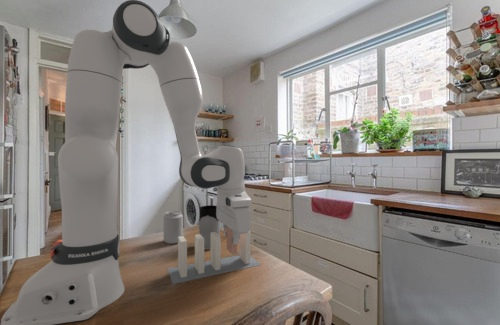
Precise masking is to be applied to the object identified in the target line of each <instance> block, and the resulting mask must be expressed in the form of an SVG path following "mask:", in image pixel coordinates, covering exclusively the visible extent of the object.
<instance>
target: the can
mask: <svg viewBox="0 0 500 325" xmlns="http://www.w3.org/2000/svg"><path fill="white" fill-rule="evenodd" d="M181 236H184V216H183V214H182V211H180V210H169V211H166V212H164V216H163V241H164V242H165V244H168V245H175V244H178V237H181Z"/></svg>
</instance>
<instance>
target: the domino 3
mask: <svg viewBox="0 0 500 325" xmlns="http://www.w3.org/2000/svg"><path fill="white" fill-rule="evenodd" d="M221 238H222V237H221V234H220V235H219V234H217V233H216V232H211V249H210V260H211V265H212V267H213V268H214V269H215V270H220V269H221V258H222V257H221V255H222V254H221V252H222V250H221V242H222V240H221Z"/></svg>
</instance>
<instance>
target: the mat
mask: <svg viewBox="0 0 500 325" xmlns="http://www.w3.org/2000/svg"><path fill="white" fill-rule="evenodd" d="M261 265H262V263H260V262H259V261H258V260H257V259H255V258H254V257H253V256H252V255H250V263H249V264H245V263H244V262H243V261H242V260H241V259H240V254H238V255H237V254H236V255H231V256H227V257H221V269H220V270H215V269H214V268H213V267H212V265H211V259H210V260H204V273H201V274H199V273H198V272H197V270H196V268H195V262H194V263H191V264H187V277H182V278H181V276H180V274H179V271H178V266H175V267H169V268H167V272H168V275H169V278H170V281H171V284H172V285H176V284H180V283H184V282H189V281H193V280H198V279H203V278H207V277H212V276H216V275H217V276H218V275H221V274H225V273H231V272H234V271H235V272H236V271H239V270H244V269H248V268H254V267H257V266H261Z"/></svg>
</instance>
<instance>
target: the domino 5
mask: <svg viewBox="0 0 500 325" xmlns="http://www.w3.org/2000/svg"><path fill="white" fill-rule="evenodd" d="M251 236H252V234H251V230H249V232H248V233H246V234H240V237H239V255H240V259H241V260H242V261H243V262H244V263H245V264H249V263H250V256H251Z"/></svg>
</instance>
